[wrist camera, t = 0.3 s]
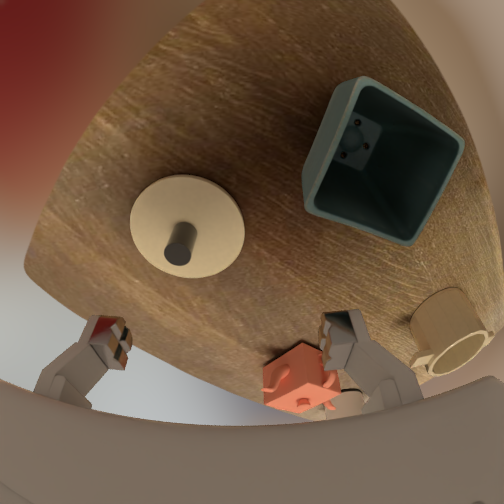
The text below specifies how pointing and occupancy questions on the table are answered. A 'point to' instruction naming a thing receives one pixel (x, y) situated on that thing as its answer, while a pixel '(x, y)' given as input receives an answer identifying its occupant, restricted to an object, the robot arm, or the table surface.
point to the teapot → (299, 381)
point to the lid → (187, 226)
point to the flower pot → (378, 162)
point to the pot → (447, 332)
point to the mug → (346, 404)
